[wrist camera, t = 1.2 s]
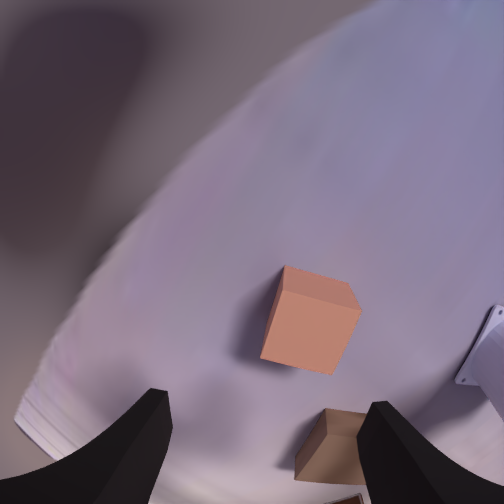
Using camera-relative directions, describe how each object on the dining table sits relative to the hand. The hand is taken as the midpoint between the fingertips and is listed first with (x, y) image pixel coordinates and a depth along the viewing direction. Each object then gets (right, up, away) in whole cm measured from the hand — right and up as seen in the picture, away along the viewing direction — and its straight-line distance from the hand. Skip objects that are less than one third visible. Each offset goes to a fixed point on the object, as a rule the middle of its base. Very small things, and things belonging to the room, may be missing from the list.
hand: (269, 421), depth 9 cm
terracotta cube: (+3, +2, +11) cm, 12 cm away
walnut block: (+9, -12, +14) cm, 20 cm away
